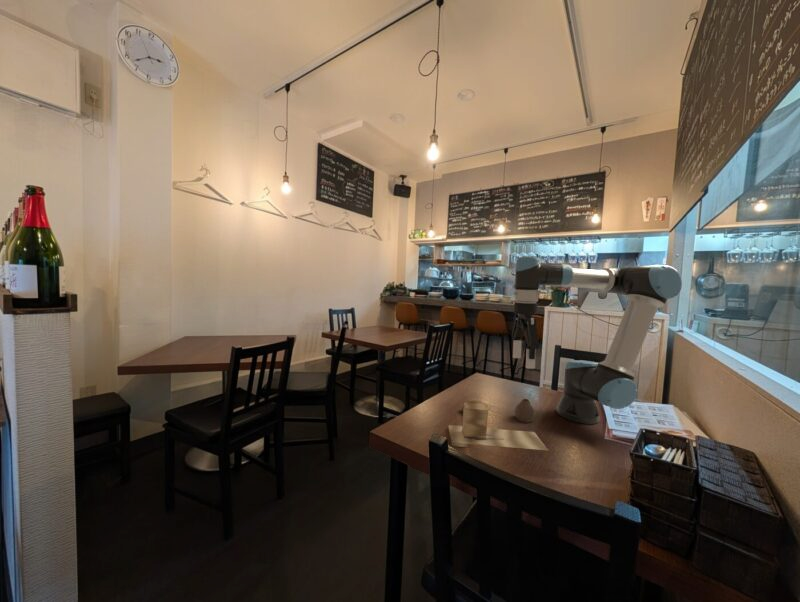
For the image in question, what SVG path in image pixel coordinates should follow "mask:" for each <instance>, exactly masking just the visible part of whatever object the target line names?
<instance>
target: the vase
mask: <svg viewBox="0 0 800 602" xmlns="http://www.w3.org/2000/svg"><path fill="white" fill-rule="evenodd" d="M514 414H515V418H516V420H518V421H519V422H522V423H528V424H529V423H533V422H534V419H535V409H534V407H533V406H532V404H531V402H530V399H527V398H523V399H522V400H521V401H520V402H519V403H518V404H517V405H516V407H515V410H514Z"/></svg>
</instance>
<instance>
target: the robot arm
mask: <svg viewBox="0 0 800 602" xmlns="http://www.w3.org/2000/svg"><path fill="white" fill-rule="evenodd" d="M514 271H515V276H514V277H515V278H514V279H515V280H514V292H513V294H512V295H514V301H515V302H514V303H513V313H514V315H515V316H514V323H513V326H512V332H511V338H512V339H513V345H512V346H513V348H512V358H513V359H521V358H522V341H523V335H524V336H525V340H526V345H527V346H526V347H525V349H526V351H525V352H526V353H525V369H529V370H530V369H532V370H534V369H536V355H537V354H536V352H537V349H539V348H540V342H539V333H538V327H537V318H535V317H533V316H534V315H537V314H538V303H537V302H538V301H539V292H540V291H539V287H540V286H545V287H546V286H547V287H548V286H549V287H563V288H579V289H595V290H596V289H597V290H598V291H600V292H603V293H611V294H617V295H618V294H619V295H622V296H623V295H624V296H625V297H626V300H627V301H628V302H627V305H626V307H625V309H624V313H623V314H622V317H621V320H620V322H619V324H618V328H617V330H616V332H615V334H614V337H613V339H612V342H611V344H610V347H609V350H608V352H607V354H606V356H605V358H604V360H602V361H600V362H595V361H591V360H579V359H577V360H574V359H572V360H568V361H567V362H566V363H565V368H564V381H563V393H562V396H561V398H560V400H559V403H558V404H557V407H556V412H557V414H558V415H559V416H561V417H562V418H564V419H566V420H568V421H571V422H575V423H579V424H584V425H585V424H587V425H593V424H594V425H595V424H598V423H600V413H599V408H598V406H597V405H598V404H597V403H600V404H601V405H603V406H605V407H608V408H610V409H614V410H620V409H622V410H623V409H624V408H628V407H630V406H631V405H632V404H633V403H634V402H635V400H636V399H637V397H638V386H637V385H636V383H635V382H634V380H635V378H636V377H635V374H634V372H633V369H634V366H635V364H636V361H637V359H638V356H639V354H640V351H641V349H642V348H643V347H642V346H643V345H644V343H645V342H644V341H645V340H646V336H648V335H647V334H648V332H649V329H650V327H651V325H652V322H653V320H654V318H655V316H656V312H657V310H658V309H660V308H662V307H665V305H666V303H667V300H670V299H673V298H675V297H677V296H678V295H679V294H680V293H681V291H682V288H683V287H682V286H683V284H682V283H683V282H682V277H681V276H680V273H679V271H678V270H677V269H676V268H675V267H673V266H671V265H667V264H666V265H665V264H664V265H663V264H653V265H636V266H635V265H632V266H623V267H622V266H621V267H614V268H613V267H612V268H611V267H604V268H602V269H592V268H591V269H589V268H588V269H587V268H575V267H572V266H571V265H569V264H566V263H541V259H540V257H538V256H521V257H520V256H519V257H518V258H517V260H516V263H515V269H514Z"/></svg>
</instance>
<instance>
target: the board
mask: <svg viewBox="0 0 800 602" xmlns="http://www.w3.org/2000/svg"><path fill="white" fill-rule="evenodd" d="M462 426H463V425H453V424H452V425H450V424H449V425H448V432H449V438H450V441H451V442H450V443H451V446H452V447H461V448H470V446H469V445H475V446H476V445H477V446H479V445H480V446H491V447H500V448H501V447H503V448H510V449H511V448H513V449H527V450H538V451H549V449H548V448H547V447H546V445H545V444H544V442H543V441H542V440H541V439H540V438H539V436H538V434H537V433H536V432H535V431H529V430H527V431H526V430H525V431H524V430H515V429H514V430H512V429H503V428H502V429H500V428H488V427H487V432H486V440H483V439H470V438H464V435H463V432H462Z"/></svg>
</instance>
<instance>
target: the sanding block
mask: <svg viewBox="0 0 800 602" xmlns="http://www.w3.org/2000/svg"><path fill="white" fill-rule="evenodd" d="M463 403H464V404H463V406H464V412H463V413H462V415H463V416H462V425H461V426H462V432H463V435H464V438H470V439H483V440H486V432H487V428H488V419H489V418H488V417H489V409H488V406H487V405H486V404H485V403H484V404H477V403H467V402H463Z"/></svg>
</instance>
